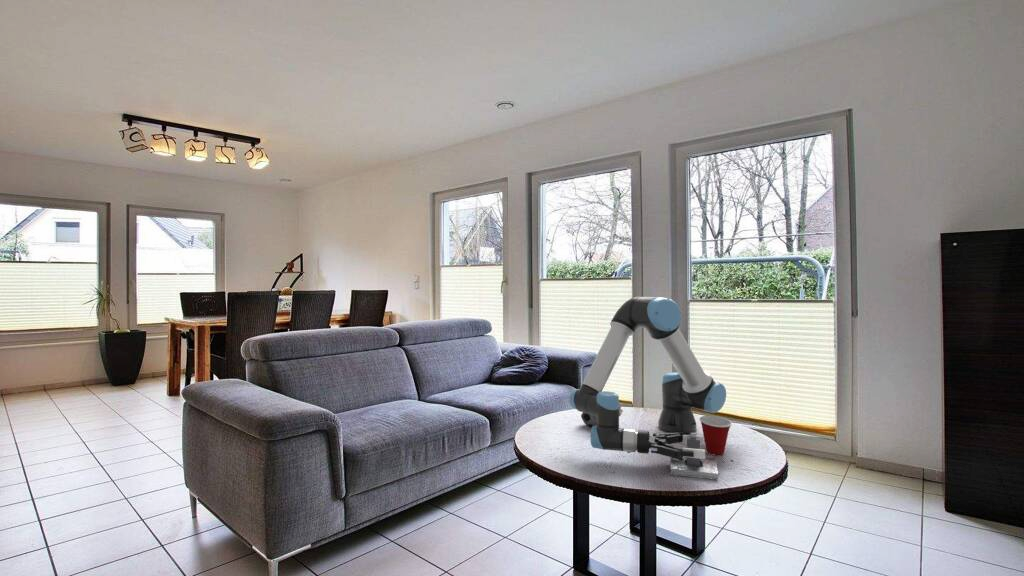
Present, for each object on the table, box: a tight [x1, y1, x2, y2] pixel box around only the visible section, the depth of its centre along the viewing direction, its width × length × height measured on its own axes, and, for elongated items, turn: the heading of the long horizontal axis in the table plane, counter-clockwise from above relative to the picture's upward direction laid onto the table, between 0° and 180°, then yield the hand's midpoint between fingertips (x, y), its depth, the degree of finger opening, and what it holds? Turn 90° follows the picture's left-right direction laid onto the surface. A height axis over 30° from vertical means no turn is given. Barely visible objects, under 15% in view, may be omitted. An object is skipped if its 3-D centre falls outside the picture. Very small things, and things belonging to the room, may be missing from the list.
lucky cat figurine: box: [580, 406, 624, 429], centre depth 212 cm, size 15×12×14 cm
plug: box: [686, 432, 701, 467], centre depth 165 cm, size 4×4×12 cm
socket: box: [670, 456, 719, 480], centre depth 165 cm, size 14×14×3 cm
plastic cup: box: [699, 415, 733, 456], centre depth 180 cm, size 11×11×12 cm
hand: (704, 447), depth 164 cm, fingers open, 13 cm apart
